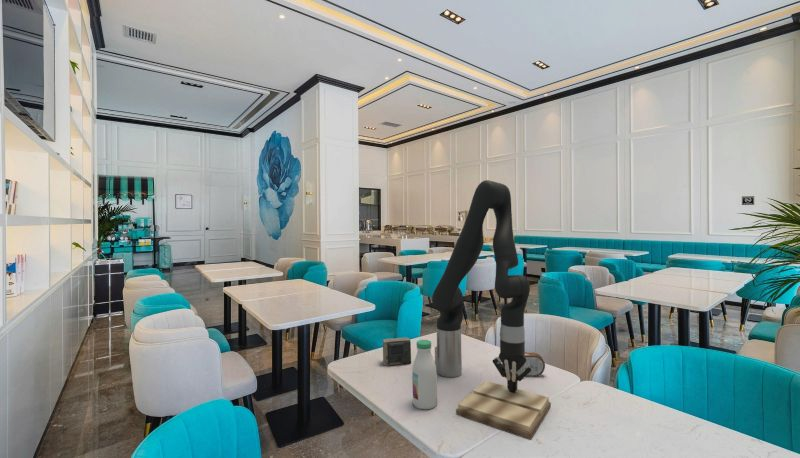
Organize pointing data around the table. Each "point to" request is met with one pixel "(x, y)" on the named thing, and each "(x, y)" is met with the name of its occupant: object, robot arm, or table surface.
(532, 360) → the tin
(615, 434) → the table surface
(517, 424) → the floor board
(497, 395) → the oak plank
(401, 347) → the camera
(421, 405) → the milk bottle
